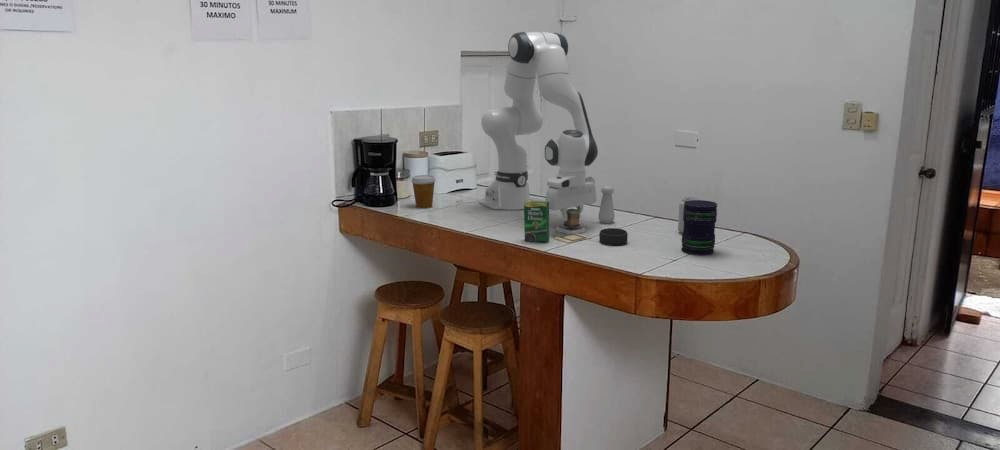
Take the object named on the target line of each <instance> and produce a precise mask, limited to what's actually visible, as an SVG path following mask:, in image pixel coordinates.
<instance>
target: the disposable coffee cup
mask: <svg viewBox="0 0 1000 450" xmlns="http://www.w3.org/2000/svg"><path fill="white" fill-rule="evenodd" d="M411 183H412V188H413V195H414V201H415V206H416V207H415V208H417V209H431V208H433V201H434V192H435V190H434V189H435V183H436V177H435V176H433V175H430V174H429V175H428V174H425V175H424V174H422V175H421V174H420V175H413V176H412V178H411Z"/></svg>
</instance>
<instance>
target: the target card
mask: <svg viewBox="0 0 1000 450" xmlns="http://www.w3.org/2000/svg"><path fill="white" fill-rule="evenodd" d="M553 239H554V240H557V241H561V242H563V241H564V242H563V243H566V242H567V244H572V243H576V242H581V241H585V240H589V239H590V240H591V239H592V237H591V236H587V235H584V234H582V233H579V234H578V233H575V234H565V235H560V236H558V237H557V236H556V237H553Z"/></svg>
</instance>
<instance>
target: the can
mask: <svg viewBox="0 0 1000 450" xmlns="http://www.w3.org/2000/svg"><path fill="white" fill-rule="evenodd" d="M690 200H702V198H699V197H696V196H683V197H681V200H680V201H679V204H678V206H679V207H678V208H679V209H678V222H677V223H678V225H677V231H678V232H679V233H680V234H681V235H682V233H683V228H684V221H683V211H684V202H685V201H690Z"/></svg>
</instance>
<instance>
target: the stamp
mask: <svg viewBox="0 0 1000 450" xmlns="http://www.w3.org/2000/svg"><path fill="white" fill-rule="evenodd" d="M579 212H580V210H577V208H576V209H575V208H567V211H566V213H567V215H569V221H563V224H562V226H567V227H571V228H572V227H577V226H578V227H581V224H580V219H579Z"/></svg>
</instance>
